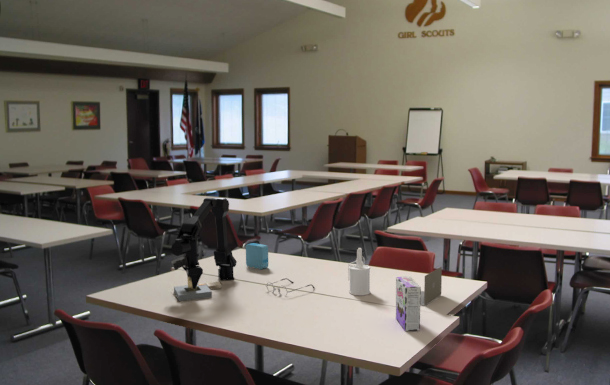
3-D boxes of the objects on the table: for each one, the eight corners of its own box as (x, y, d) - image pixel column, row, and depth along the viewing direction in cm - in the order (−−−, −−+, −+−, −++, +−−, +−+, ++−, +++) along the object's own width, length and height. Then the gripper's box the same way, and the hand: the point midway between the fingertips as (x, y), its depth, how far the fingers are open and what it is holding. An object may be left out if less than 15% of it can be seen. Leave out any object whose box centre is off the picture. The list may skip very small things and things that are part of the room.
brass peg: (196, 292, 250) (195, 275, 250) (198, 295, 247) (197, 277, 246) (187, 294, 249) (186, 276, 248) (188, 296, 245) (188, 278, 244)
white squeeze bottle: (374, 292, 249) (374, 247, 246) (361, 297, 242) (361, 251, 239) (355, 287, 256) (355, 244, 253) (342, 292, 249) (342, 247, 247)
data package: (268, 268, 293) (268, 245, 291) (262, 269, 289) (262, 246, 288) (251, 264, 300) (251, 242, 299) (245, 266, 297) (245, 243, 295)
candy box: (395, 318, 215) (395, 276, 213) (410, 317, 215) (410, 275, 213) (404, 331, 201) (405, 286, 199) (420, 331, 202) (421, 286, 200)
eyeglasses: (262, 291, 252) (262, 281, 252) (291, 283, 266) (291, 272, 265) (288, 299, 242) (287, 287, 241) (317, 289, 255) (317, 278, 255)
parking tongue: (218, 284, 263) (218, 281, 263) (221, 287, 258) (221, 284, 257) (205, 286, 261) (205, 282, 261) (208, 289, 255) (208, 286, 255)
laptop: (414, 291, 251) (414, 262, 249) (441, 296, 243) (442, 266, 242) (396, 302, 236) (397, 271, 234) (425, 307, 229) (425, 275, 227)
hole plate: (205, 288, 257) (205, 282, 257) (211, 297, 244) (211, 291, 244) (174, 292, 252) (173, 286, 252) (179, 301, 239) (178, 294, 239)
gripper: (169, 248, 251) (170, 282, 253) (175, 257, 234) (177, 293, 236) (194, 246, 255) (195, 279, 257) (202, 254, 238) (203, 290, 240)
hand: (192, 285), depth 247 cm, fingers open, 9 cm apart
